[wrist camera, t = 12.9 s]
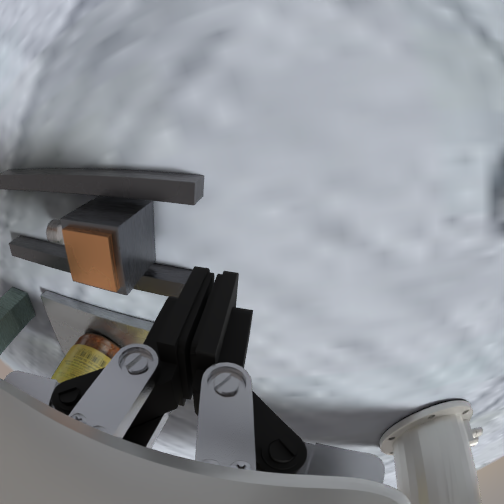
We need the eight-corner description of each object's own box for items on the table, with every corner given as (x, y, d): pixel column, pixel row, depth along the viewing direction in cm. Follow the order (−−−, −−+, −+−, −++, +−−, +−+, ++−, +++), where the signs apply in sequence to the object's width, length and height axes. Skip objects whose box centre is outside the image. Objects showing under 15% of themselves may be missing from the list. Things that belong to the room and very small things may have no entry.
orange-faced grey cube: (153, 200, 16) (113, 230, 12) (155, 259, 18) (123, 299, 14) (68, 193, 16) (24, 216, 13) (75, 244, 18) (38, 274, 14)
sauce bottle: (71, 336, 23) (-27, 491, 5) (102, 322, 21) (-15, 518, 3) (114, 381, 25) (40, 533, 8) (152, 374, 23) (72, 563, 5)
